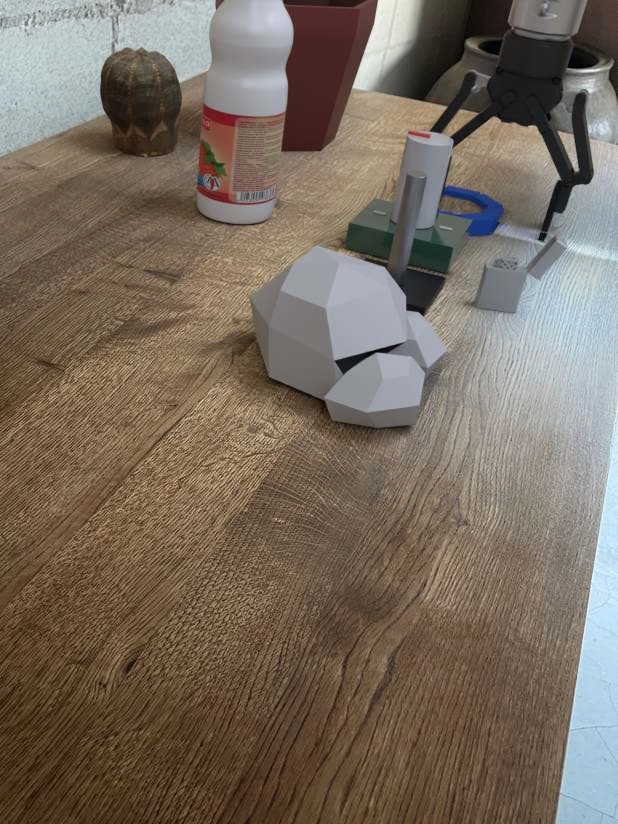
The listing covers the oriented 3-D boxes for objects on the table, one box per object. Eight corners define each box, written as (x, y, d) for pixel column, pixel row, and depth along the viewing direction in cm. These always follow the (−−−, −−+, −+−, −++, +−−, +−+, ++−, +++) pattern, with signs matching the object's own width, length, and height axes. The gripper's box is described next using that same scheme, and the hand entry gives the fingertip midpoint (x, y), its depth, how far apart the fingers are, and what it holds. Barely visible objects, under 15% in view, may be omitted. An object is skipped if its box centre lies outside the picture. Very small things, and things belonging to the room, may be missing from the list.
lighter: (475, 307, 95) (496, 231, 90) (474, 300, 96) (495, 224, 91) (544, 317, 94) (570, 241, 89) (542, 310, 96) (567, 235, 90)
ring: (505, 214, 118) (510, 198, 117) (486, 243, 109) (491, 227, 108) (415, 194, 121) (418, 178, 120) (390, 221, 113) (393, 204, 111)
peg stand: (444, 286, 98) (473, 171, 91) (423, 317, 92) (452, 196, 84) (364, 266, 101) (385, 152, 93) (338, 295, 94) (359, 176, 87)
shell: (104, 131, 132) (105, 38, 124) (181, 138, 132) (186, 46, 124) (95, 155, 123) (94, 56, 116) (176, 162, 123) (181, 64, 116)
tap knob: (438, 219, 106) (459, 134, 100) (428, 232, 102) (448, 145, 96) (397, 209, 107) (414, 125, 101) (385, 222, 103) (402, 135, 97)
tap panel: (466, 245, 108) (473, 218, 106) (447, 273, 101) (454, 245, 99) (369, 222, 112) (374, 196, 110) (344, 248, 104) (348, 221, 102)
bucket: (286, 106, 150) (308, -76, 134) (391, 144, 138) (429, -52, 123) (172, 126, 136) (182, -75, 121) (278, 169, 125) (304, -48, 109)
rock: (442, 344, 88) (468, 245, 81) (439, 456, 72) (471, 345, 66) (255, 312, 90) (266, 214, 83) (213, 416, 74) (223, 305, 68)
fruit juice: (266, 231, 107) (300, -54, 89) (187, 218, 108) (205, -65, 90) (278, 204, 114) (312, -64, 96) (204, 193, 115) (224, -74, 97)
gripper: (421, 18, 101) (382, 210, 114) (657, 59, 94) (585, 258, 108) (438, 9, 106) (398, 193, 120) (661, 47, 100) (593, 238, 113)
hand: (487, 224), depth 114 cm, fingers open, 13 cm apart
